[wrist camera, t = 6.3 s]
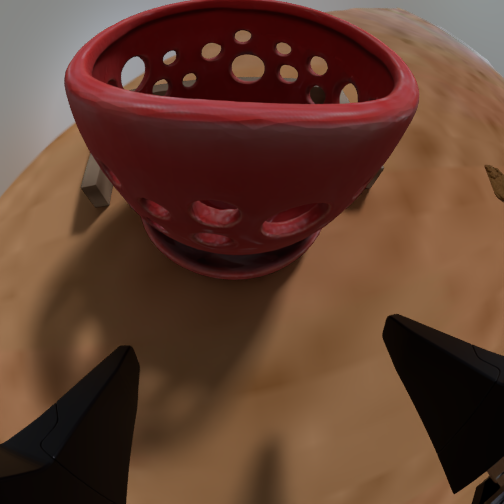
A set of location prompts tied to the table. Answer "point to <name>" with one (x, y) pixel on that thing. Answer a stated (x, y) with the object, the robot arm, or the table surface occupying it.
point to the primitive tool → (496, 181)
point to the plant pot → (239, 128)
